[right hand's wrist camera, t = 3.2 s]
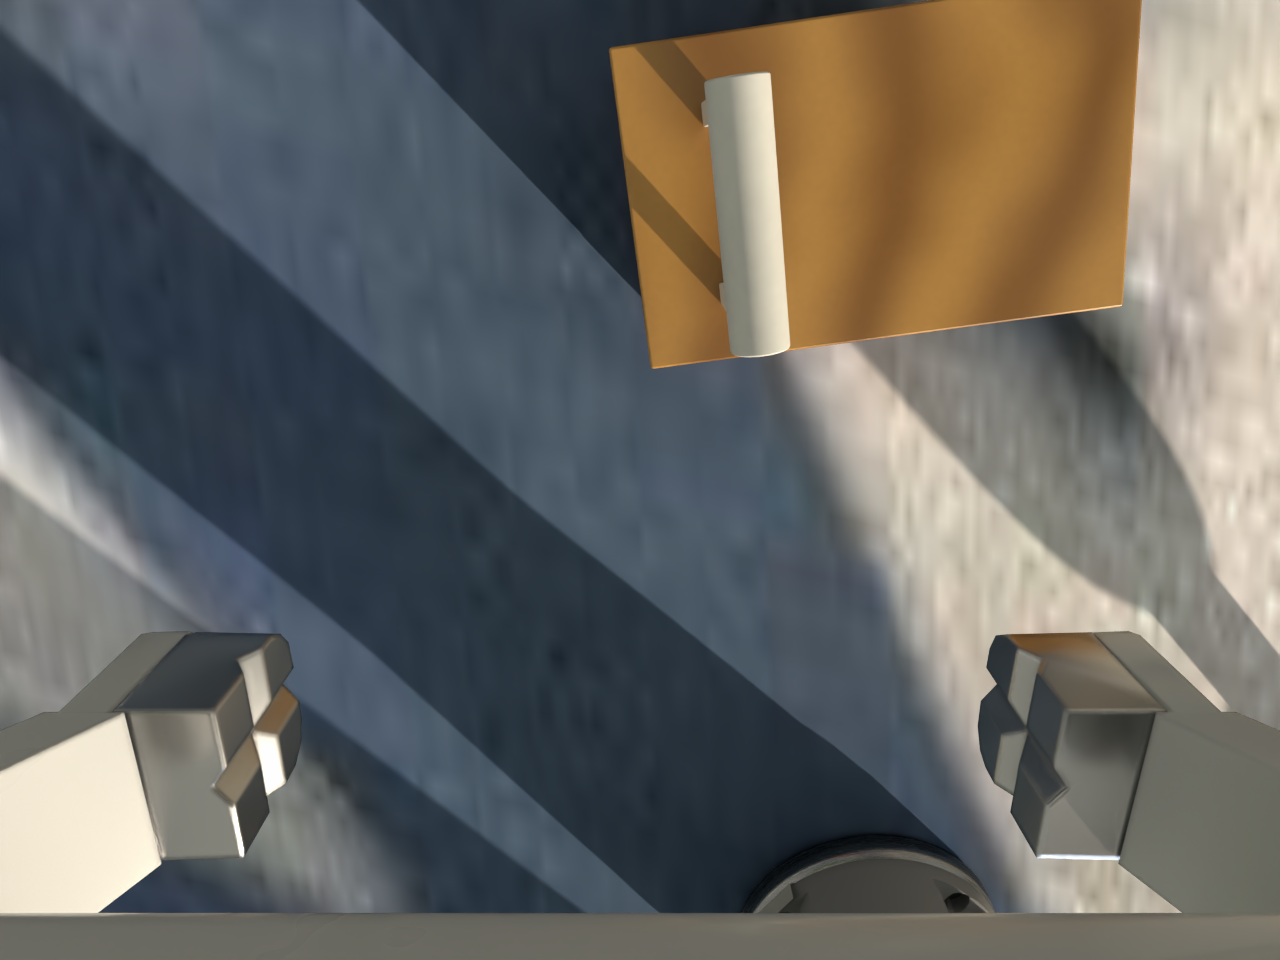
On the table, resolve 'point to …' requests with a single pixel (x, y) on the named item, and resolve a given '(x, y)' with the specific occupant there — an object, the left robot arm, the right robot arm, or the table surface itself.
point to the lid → (878, 172)
